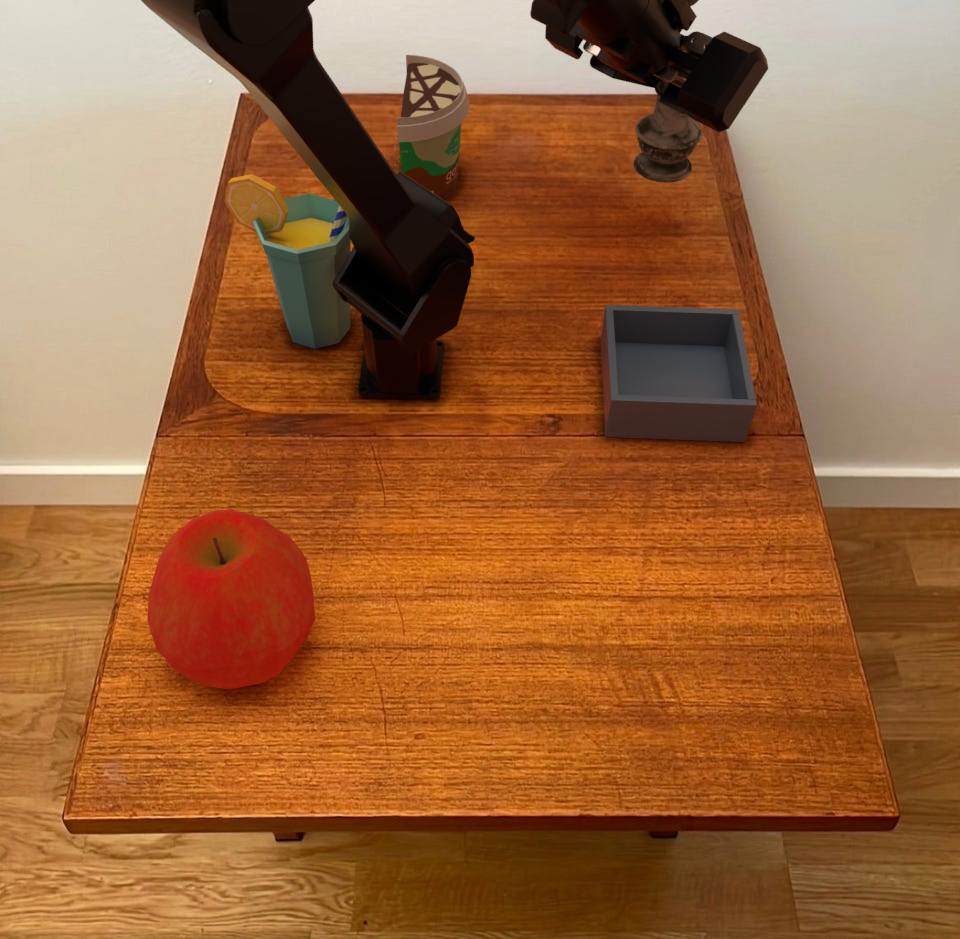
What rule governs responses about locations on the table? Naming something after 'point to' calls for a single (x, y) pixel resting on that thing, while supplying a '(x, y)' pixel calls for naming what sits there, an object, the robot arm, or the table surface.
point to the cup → (299, 255)
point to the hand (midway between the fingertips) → (685, 92)
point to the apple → (230, 600)
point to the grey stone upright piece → (665, 142)
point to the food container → (431, 124)
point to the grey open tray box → (676, 374)
